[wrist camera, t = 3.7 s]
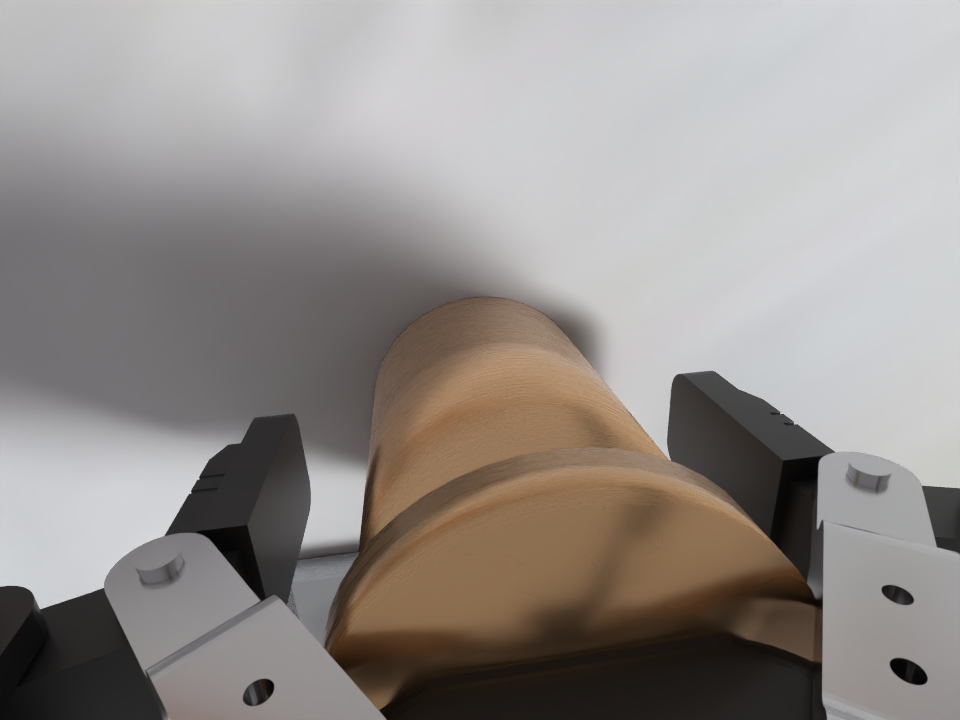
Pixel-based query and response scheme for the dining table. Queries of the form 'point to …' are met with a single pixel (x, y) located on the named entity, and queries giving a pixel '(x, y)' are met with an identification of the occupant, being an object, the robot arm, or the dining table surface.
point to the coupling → (318, 588)
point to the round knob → (535, 518)
